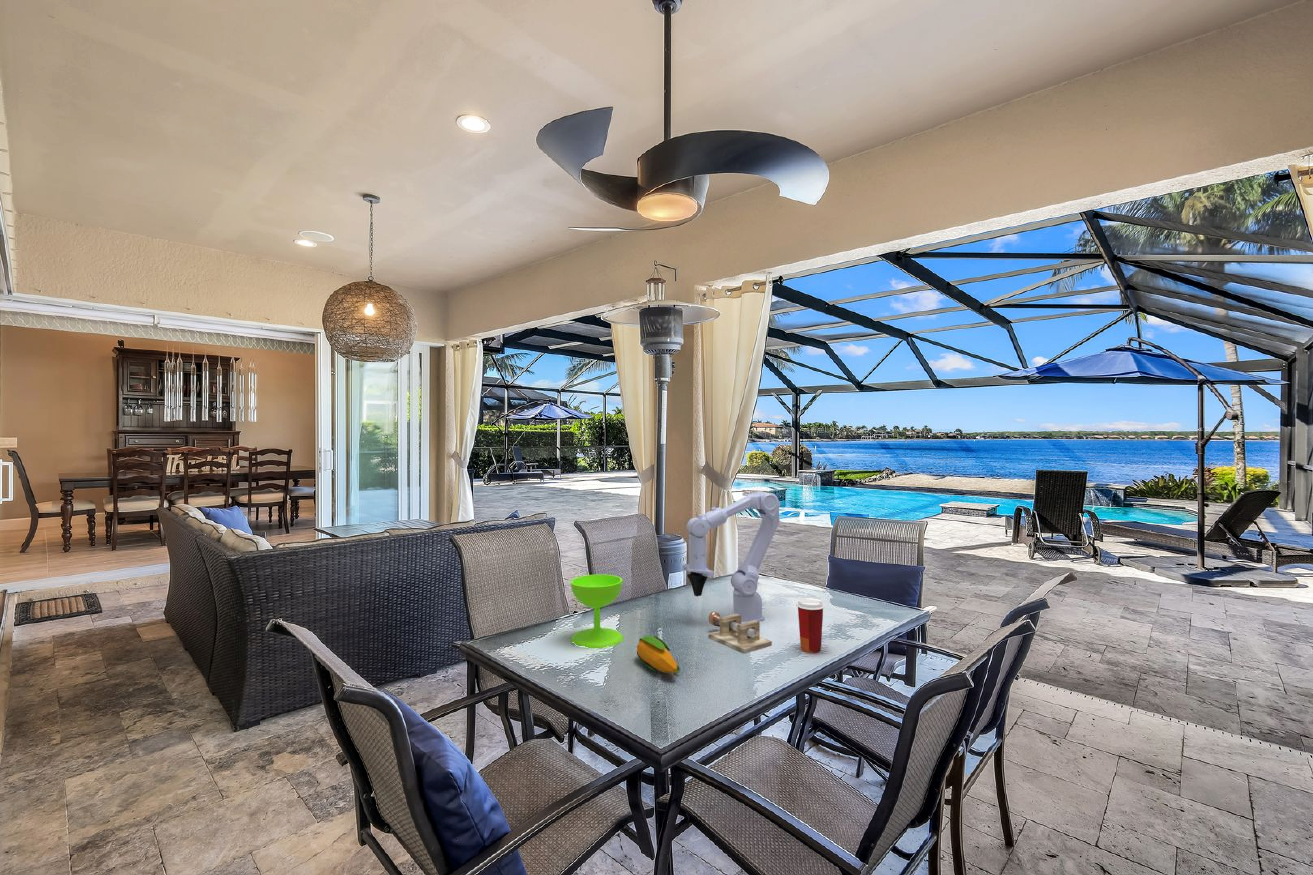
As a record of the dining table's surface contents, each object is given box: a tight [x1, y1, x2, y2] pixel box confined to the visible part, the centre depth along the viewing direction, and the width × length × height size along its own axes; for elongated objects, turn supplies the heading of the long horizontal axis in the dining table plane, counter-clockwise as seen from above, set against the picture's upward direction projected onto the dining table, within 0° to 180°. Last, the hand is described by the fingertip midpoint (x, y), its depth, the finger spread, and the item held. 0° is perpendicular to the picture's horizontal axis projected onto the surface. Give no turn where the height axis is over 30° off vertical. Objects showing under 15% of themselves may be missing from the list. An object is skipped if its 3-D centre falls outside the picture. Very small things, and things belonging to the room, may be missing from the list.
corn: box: [636, 635, 681, 674], centre depth 151 cm, size 7×8×20 cm
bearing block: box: [707, 614, 773, 654], centre depth 171 cm, size 16×11×6 cm
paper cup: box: [796, 597, 825, 654], centre depth 164 cm, size 8×8×14 cm
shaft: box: [708, 611, 756, 638], centre depth 174 cm, size 18×4×4 cm, turn 34°
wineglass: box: [570, 573, 624, 649], centre depth 174 cm, size 16×16×18 cm
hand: (697, 595), depth 188 cm, fingers closed
